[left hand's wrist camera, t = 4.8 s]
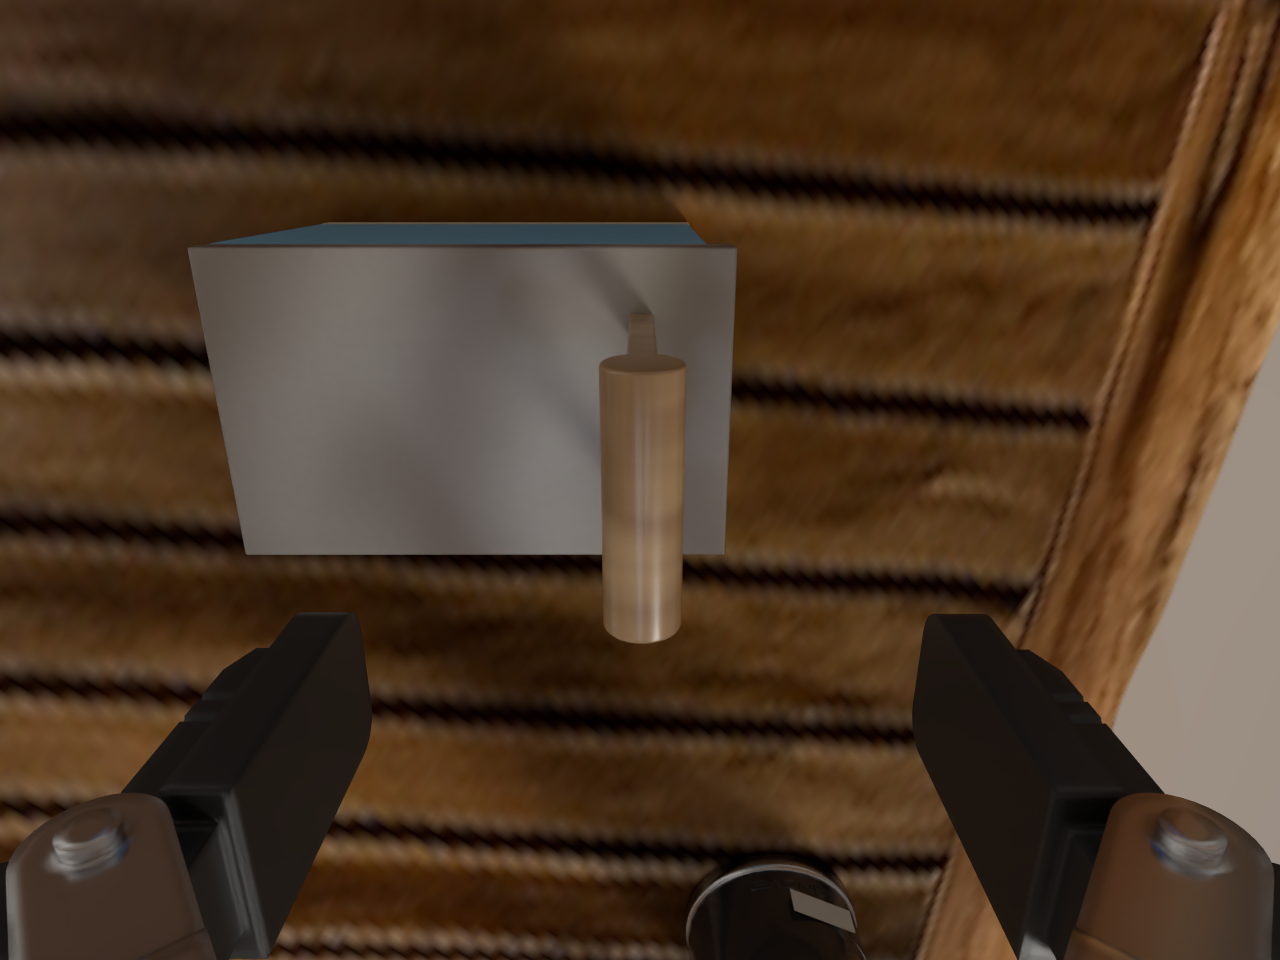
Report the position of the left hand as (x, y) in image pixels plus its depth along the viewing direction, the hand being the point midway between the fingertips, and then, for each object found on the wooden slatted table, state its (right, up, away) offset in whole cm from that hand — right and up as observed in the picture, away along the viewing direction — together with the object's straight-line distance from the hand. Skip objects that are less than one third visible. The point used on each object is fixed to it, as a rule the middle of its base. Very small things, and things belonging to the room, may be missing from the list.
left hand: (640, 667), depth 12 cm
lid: (-5, +5, +13) cm, 15 cm away
